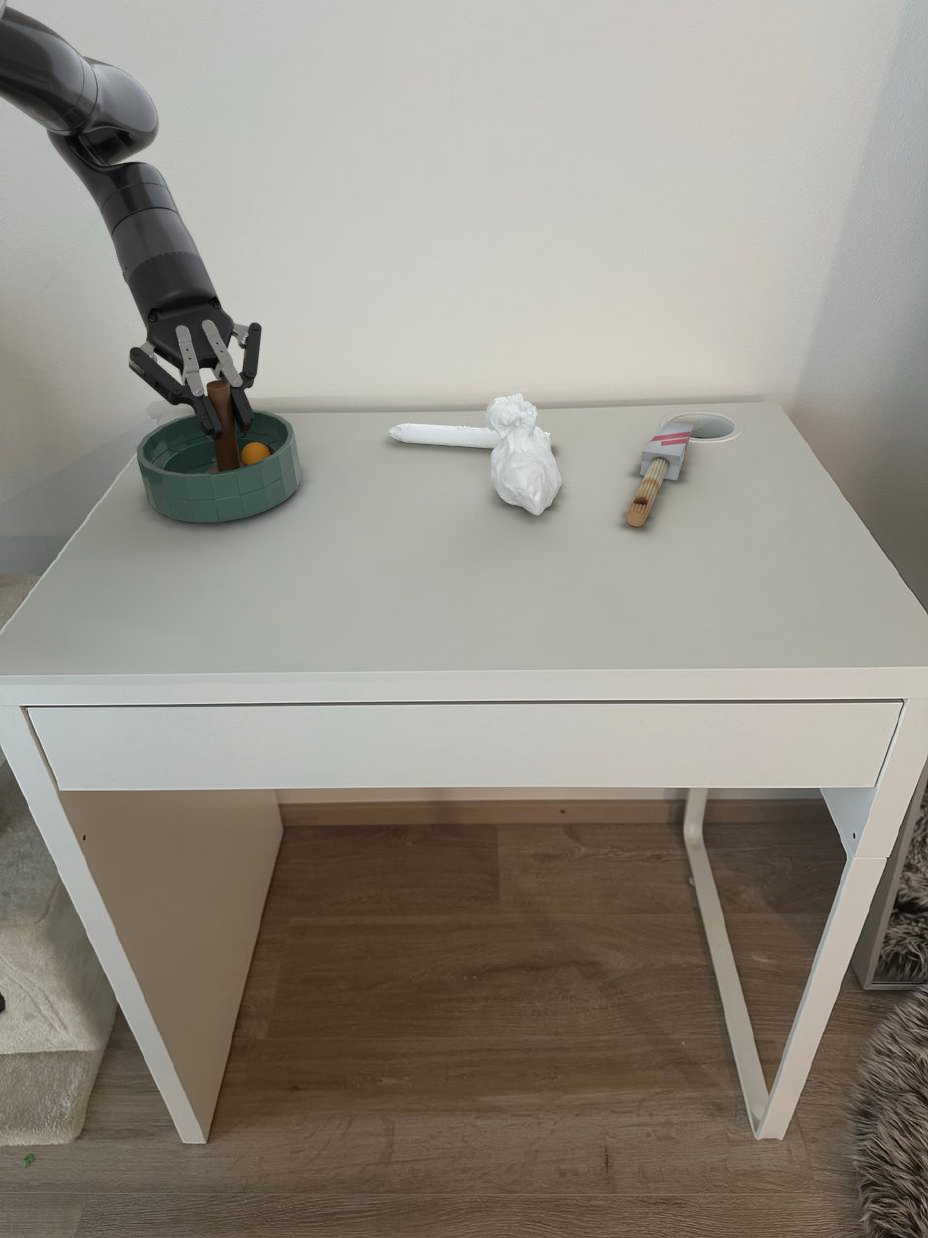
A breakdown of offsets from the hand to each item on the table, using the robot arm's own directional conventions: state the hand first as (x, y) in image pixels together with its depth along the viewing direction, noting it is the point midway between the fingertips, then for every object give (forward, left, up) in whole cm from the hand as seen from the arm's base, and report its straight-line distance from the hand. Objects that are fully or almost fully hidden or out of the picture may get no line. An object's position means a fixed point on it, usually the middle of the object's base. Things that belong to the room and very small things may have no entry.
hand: (232, 431), depth 89 cm
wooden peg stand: (+1, +2, -6) cm, 7 cm away
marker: (+17, -18, -8) cm, 26 cm away
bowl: (+1, +3, -7) cm, 8 cm away
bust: (+8, -27, -8) cm, 29 cm away
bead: (+5, +1, -5) cm, 7 cm away
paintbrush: (+15, -39, -8) cm, 42 cm away
